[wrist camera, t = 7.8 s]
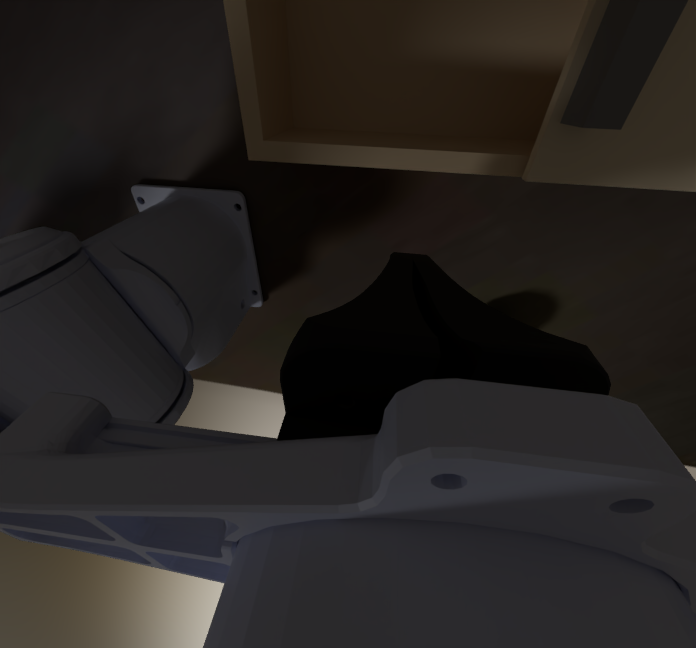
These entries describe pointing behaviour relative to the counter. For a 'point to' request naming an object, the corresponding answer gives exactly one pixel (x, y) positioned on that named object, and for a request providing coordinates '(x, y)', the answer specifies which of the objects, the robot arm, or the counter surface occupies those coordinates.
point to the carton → (399, 80)
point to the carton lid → (624, 100)
